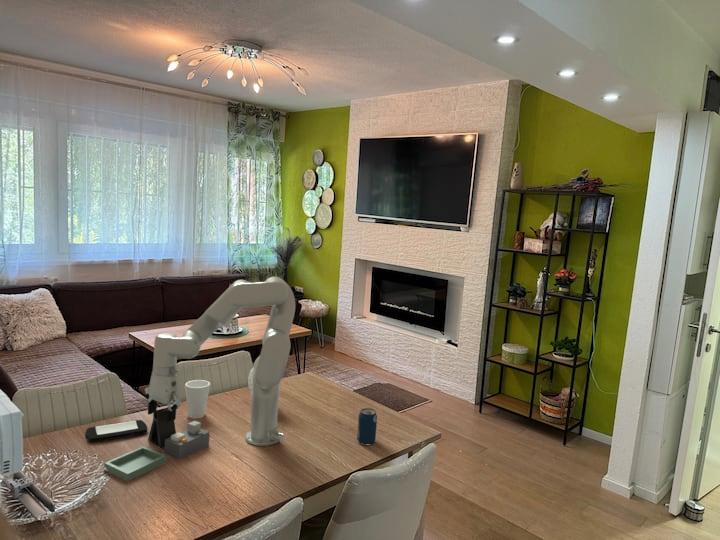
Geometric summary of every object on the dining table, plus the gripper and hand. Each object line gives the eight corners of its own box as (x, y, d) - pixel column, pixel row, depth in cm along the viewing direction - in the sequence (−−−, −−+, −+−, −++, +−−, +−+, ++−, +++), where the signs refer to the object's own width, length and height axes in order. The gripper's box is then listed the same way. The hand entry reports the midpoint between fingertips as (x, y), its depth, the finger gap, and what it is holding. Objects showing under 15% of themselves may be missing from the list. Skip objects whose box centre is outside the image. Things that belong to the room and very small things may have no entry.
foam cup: (213, 414, 196) (215, 383, 195) (194, 422, 189) (196, 389, 187) (197, 408, 201) (199, 378, 200) (179, 415, 194) (180, 383, 192)
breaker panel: (208, 445, 171) (209, 430, 170) (179, 460, 159) (179, 443, 159) (194, 439, 174) (195, 424, 174) (164, 453, 163) (165, 438, 162)
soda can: (378, 442, 183) (381, 412, 182) (366, 448, 178) (369, 416, 177) (365, 436, 188) (367, 406, 186) (352, 441, 183) (355, 410, 181)
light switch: (143, 416, 187) (150, 427, 175) (143, 423, 187) (150, 435, 175) (84, 425, 176) (87, 437, 164) (84, 432, 176) (87, 445, 164)
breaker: (200, 432, 170) (200, 422, 170) (193, 435, 168) (194, 425, 167) (194, 430, 172) (194, 420, 171) (187, 433, 169) (187, 423, 169)
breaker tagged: (184, 444, 164) (184, 434, 164) (177, 447, 162) (177, 437, 161) (178, 442, 166) (178, 432, 165) (170, 445, 163) (171, 435, 163)
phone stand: (148, 440, 172) (149, 407, 170) (164, 435, 176) (165, 403, 175) (161, 449, 166) (162, 415, 165) (177, 443, 171) (178, 410, 169)
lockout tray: (166, 462, 157) (166, 455, 157) (127, 481, 145) (127, 474, 145) (143, 452, 162) (143, 446, 162) (104, 470, 150) (104, 462, 150)
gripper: (190, 372, 168) (187, 420, 169) (156, 361, 176) (153, 407, 177) (173, 378, 161) (169, 427, 163) (138, 366, 169) (135, 413, 171)
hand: (161, 416), depth 170 cm, fingers open, 9 cm apart
